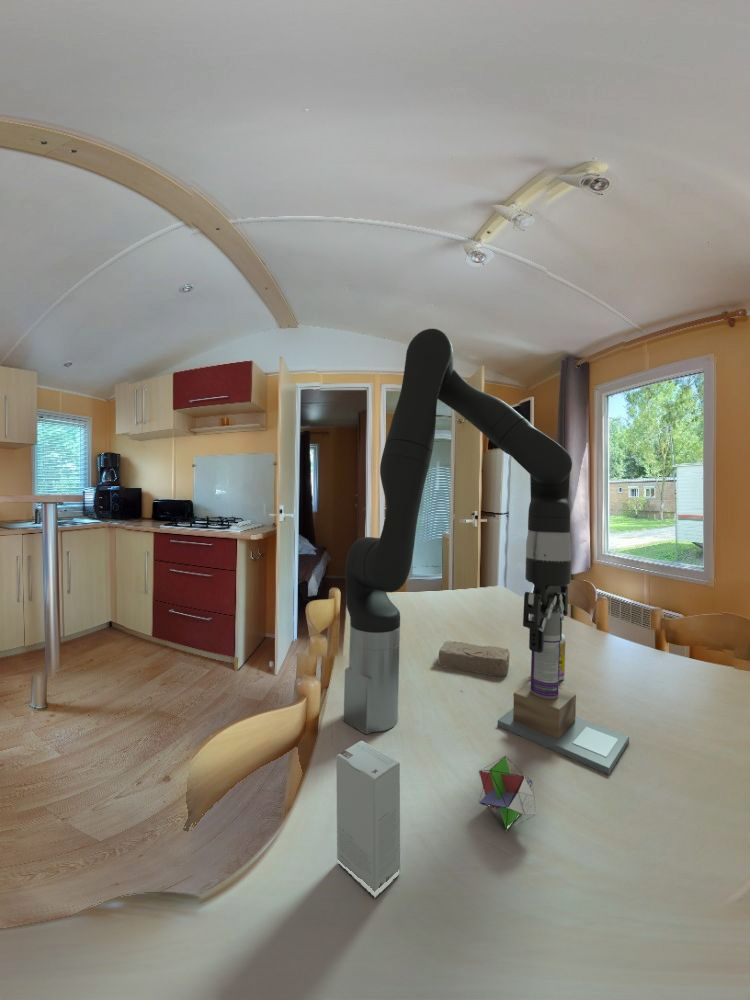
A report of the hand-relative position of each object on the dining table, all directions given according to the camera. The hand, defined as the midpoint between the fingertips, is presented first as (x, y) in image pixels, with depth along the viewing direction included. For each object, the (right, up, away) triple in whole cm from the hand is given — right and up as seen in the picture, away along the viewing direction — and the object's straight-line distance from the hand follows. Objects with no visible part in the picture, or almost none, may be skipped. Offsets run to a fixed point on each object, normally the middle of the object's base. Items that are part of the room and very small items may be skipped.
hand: (545, 645), depth 73 cm
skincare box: (-32, -14, -29) cm, 46 cm away
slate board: (+2, -15, -2) cm, 15 cm away
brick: (-7, -15, +27) cm, 32 cm away
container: (0, -9, 0) cm, 9 cm away
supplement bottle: (+10, -15, +22) cm, 29 cm away
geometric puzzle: (-14, -14, -21) cm, 30 cm away
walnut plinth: (0, -15, 0) cm, 15 cm away
